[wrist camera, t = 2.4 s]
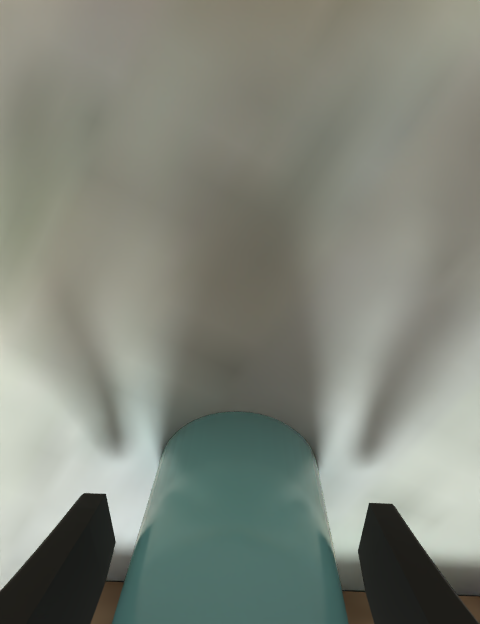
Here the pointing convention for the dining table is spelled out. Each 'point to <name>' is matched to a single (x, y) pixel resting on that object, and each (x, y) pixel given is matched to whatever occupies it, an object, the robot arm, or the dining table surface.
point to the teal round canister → (234, 531)
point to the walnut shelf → (354, 601)
